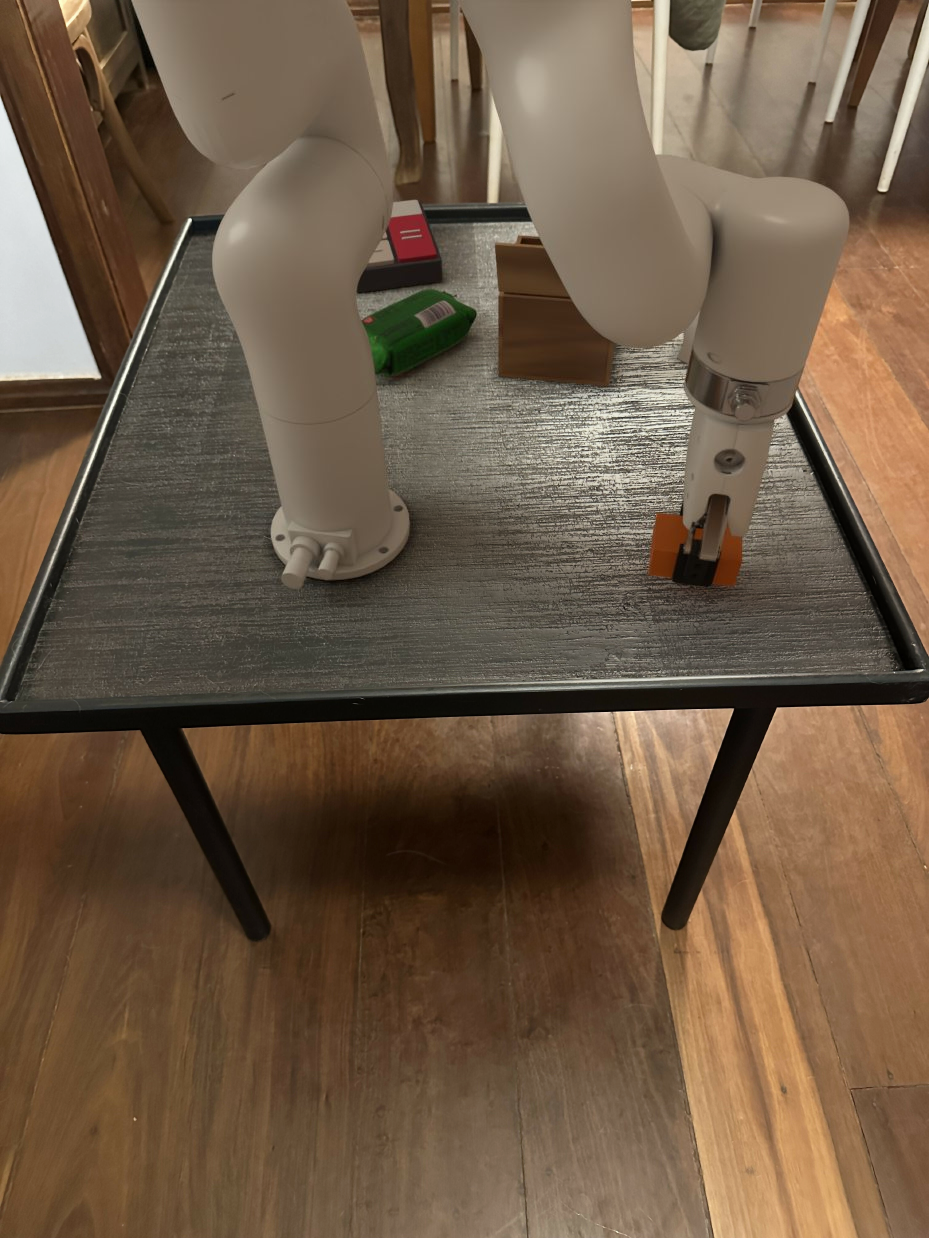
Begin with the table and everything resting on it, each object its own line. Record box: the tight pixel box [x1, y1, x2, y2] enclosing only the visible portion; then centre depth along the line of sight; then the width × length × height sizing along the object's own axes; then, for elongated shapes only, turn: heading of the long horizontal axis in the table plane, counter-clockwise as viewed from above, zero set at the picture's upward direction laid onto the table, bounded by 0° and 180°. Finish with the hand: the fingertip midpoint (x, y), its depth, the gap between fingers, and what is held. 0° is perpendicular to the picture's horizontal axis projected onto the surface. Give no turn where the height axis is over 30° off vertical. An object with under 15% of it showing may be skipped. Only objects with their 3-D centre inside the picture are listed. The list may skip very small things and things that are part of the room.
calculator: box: [357, 199, 443, 294], centre depth 116 cm, size 11×4×15 cm
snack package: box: [361, 288, 478, 377], centre depth 101 cm, size 7×16×5 cm, turn 131°
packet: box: [647, 512, 743, 588], centre depth 76 cm, size 4×7×3 cm, turn 79°
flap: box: [494, 242, 570, 297], centre depth 88 cm, size 6×12×1 cm
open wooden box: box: [497, 234, 617, 387], centre depth 99 cm, size 13×12×10 cm
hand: (692, 558), depth 77 cm, fingers closed on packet, 4 cm apart
